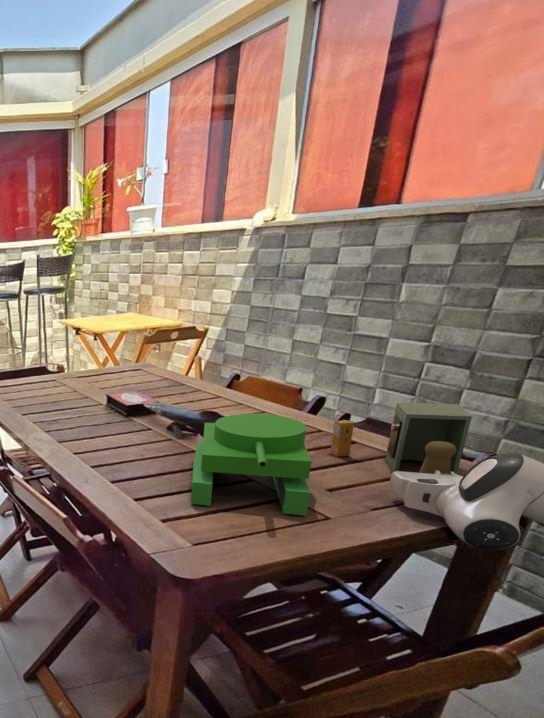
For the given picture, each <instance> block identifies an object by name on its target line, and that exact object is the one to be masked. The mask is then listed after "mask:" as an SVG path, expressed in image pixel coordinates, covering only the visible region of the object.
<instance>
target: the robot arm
mask: <svg viewBox="0 0 544 718" xmlns="http://www.w3.org/2000/svg"><path fill="white" fill-rule="evenodd" d="M389 487H390V488H391V490H392V492H393V493H394V494H395V495H396V496H397V497H398V498H399V499H401V500H403V504H404V506H405V508H409V509H413V510H418V511H421V512H426V513H430V514H433V515H435V516H439V517H441V518H443V519H444V522H445V523H446V524H447V526H448V528H449V529H450V530H451V531H452V533H453V534H454V535H455V536H456V537H457V538H458V539H460V540H461V541H462V542H464V543H465V544H467V545H469V546H471V547H473V548H477V549H480V550H489V551H496V550H497V551H498V550H505V549H507V548H510V547H512V546H514V545H516V544H517V543H518V542H519V541H520V538H521V529H520V520H521V517H524V518H527V519H528V520H531V521H533V522H534V523H536V524H538V525H540V526H541V527H543V528H544V462H542V461H539V460H536V459H533V458H532V457H529V456H526V455H523V454H521V453H519V452H506V453H499V454H496V455H493V456H489V457H486V458H483V459H481V460H480V461H478V462H476V463H475V464H474V465H473V466H472V467H470V468H469V469H468V470H467V472H466V473H465V474H464V475H460V474H458V473H457V474H455V473H454V472H450V471H438V470H436V471H435V474H428V473H419V472H416V471H415V472H413V471H402V470H399V471H395V472H394V471H392V473H391V475H390V480H389Z"/></svg>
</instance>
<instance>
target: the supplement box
mask: <svg viewBox="0 0 544 718" xmlns="http://www.w3.org/2000/svg"><path fill="white" fill-rule="evenodd" d="M354 426H355V423H354V422H353V421H350V420H348V419H343V420H334V423H333V431H332V438H331V447H330V454H331V455H333V456H334V457H336V458H337V457H349V456H350V452H351V445H352V439H353V433H354Z"/></svg>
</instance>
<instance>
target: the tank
mask: <svg viewBox="0 0 544 718" xmlns="http://www.w3.org/2000/svg"><path fill="white" fill-rule="evenodd" d="M203 427H204V428H203V440H202V441H203V442H202V441H198V442H196V445H195V446H196V447H195V454H194V460H193V464H192V480H191V481H192V482H191V493H190V496H191V497H190V505H199V506H208V507H209V506H210V507H211V506H212V495H213V482H214V481H213V479H214V473H221V474H234V475H235V474H236V475H247V476H259V477H260V476H262V477H271V478H272V480H273V483H274V487H275V490H276V494H277V497H278V501H279V503H280V506H281V509H282V514H284V515H286V514H287V515H295V516H304V517H306V516H308V509H309V502H310V495H311V491H310V488H309V486H308V483H307V480H309V479H310V473H311V466H312V459H311V457H310V455H309V452H308V449H307V447H306V445H305V440H306V435H307V434H306V433H307V425H306V424H305V423H304V422H302V421H300V420H297V419H295V418H291V417H288V416H284V415H283V416H282V415H276V414H269V413H266V414H265V413H237V414H231V415H226V416H222V417H219V418H217V420H216V421H214V422H204V426H203Z"/></svg>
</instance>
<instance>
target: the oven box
mask: <svg viewBox="0 0 544 718" xmlns="http://www.w3.org/2000/svg"><path fill="white" fill-rule="evenodd" d="M472 419H473V415H471V414H470V413H469V412H468V411H466V410H465V409H464V408H463V407H462V406H461V405H459V404H458V403H434V402H433V403H430V402H429V403H428V402H396V407H395V411H394V415H393V421H392V424H391V426H390V434H389V439H388V444H387V448H386V453H385V459H386V461H387V463H388V465H389V466H390V467H391V470H392V472H395V471H400V466H401V461H403V460H404V461H417V462H424V460H425V458H426V455H427V454H426V452H425V447H426V445H427V444H428V443H429V442H433V441H443V442H449V443H452V444H453V445H455V447H456V453H455V455H454V456H452V457H451V464H450V472H454V473H455V474H457V475H458V472H459V469H460V468H459V467H460V464H461V460H462V456H463V452H464V448H465V445H466V441H467V437H468V433H469V429H470V426H471V422H472Z"/></svg>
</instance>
